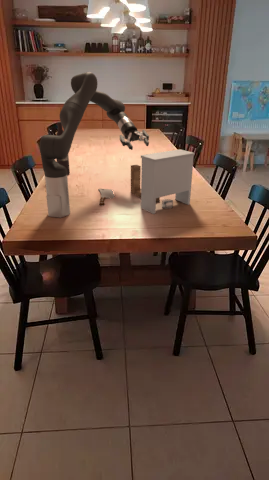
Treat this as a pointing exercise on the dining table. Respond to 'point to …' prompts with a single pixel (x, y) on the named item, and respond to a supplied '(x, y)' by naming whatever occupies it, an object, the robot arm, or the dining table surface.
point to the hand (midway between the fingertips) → (140, 146)
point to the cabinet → (166, 177)
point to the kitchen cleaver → (105, 195)
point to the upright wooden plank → (136, 181)
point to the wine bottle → (66, 161)
